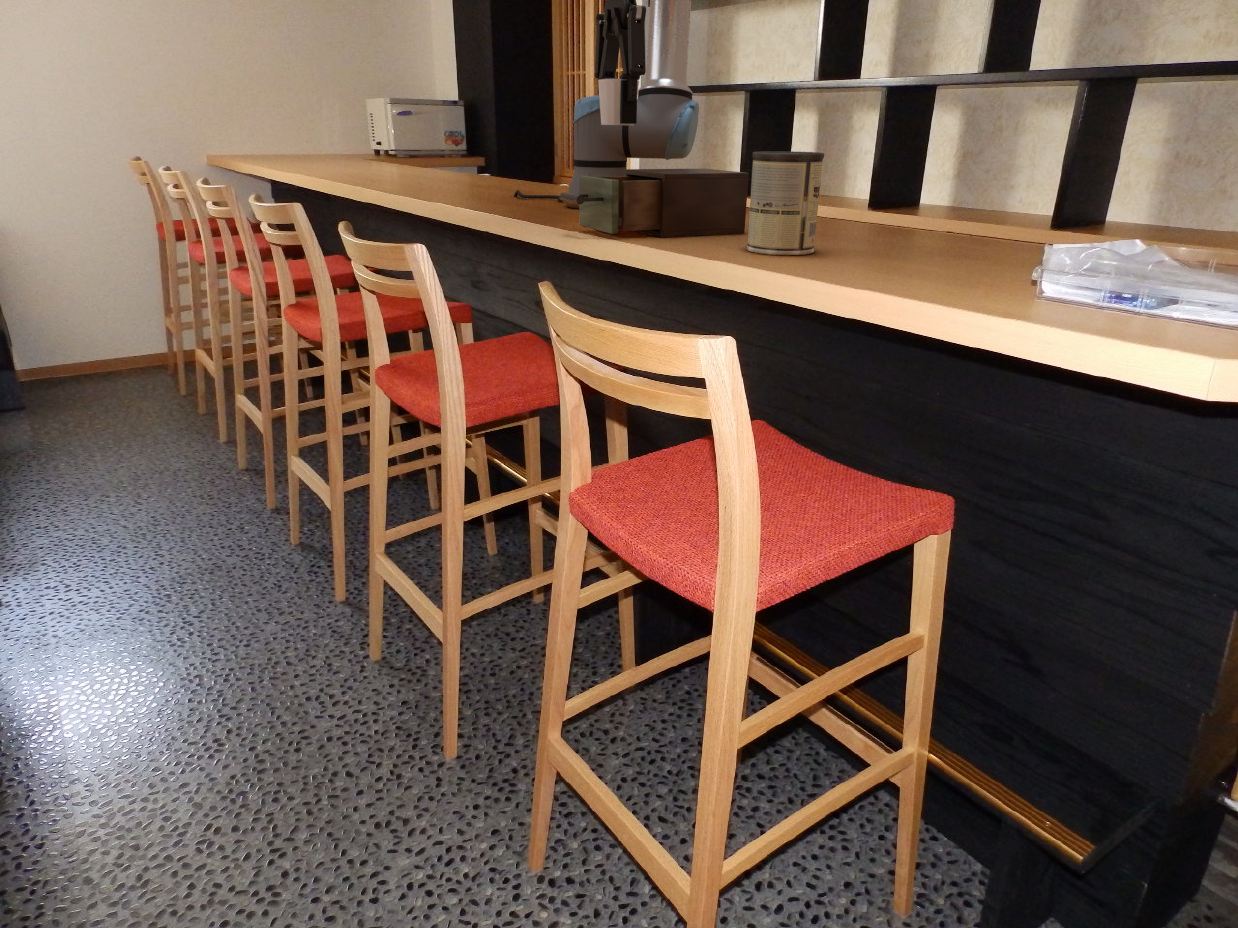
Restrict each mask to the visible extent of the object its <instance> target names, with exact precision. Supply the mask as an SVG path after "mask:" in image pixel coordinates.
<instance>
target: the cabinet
mask: <svg viewBox="0 0 1238 928" xmlns="http://www.w3.org/2000/svg"><path fill="white" fill-rule="evenodd" d="M749 174H750V173H749V172H744V171H743V172H742V171H734V170H733V171H732V170H724V169H712V168H627V169H625V176H645V177H652V178H660V179H662V194H661V224H660V229H655V230H633V231H634V232H638V233H641V234H647V235H651V236H654V237H659V238H662V239H664V238H680V237H683V238H684V237H703V236H723V235H744V234H745V233H746V232H745V229H746V219H747V217H746V216H747V205H748V204H747V203H748V190H749V189H748V188H749Z"/></svg>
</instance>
